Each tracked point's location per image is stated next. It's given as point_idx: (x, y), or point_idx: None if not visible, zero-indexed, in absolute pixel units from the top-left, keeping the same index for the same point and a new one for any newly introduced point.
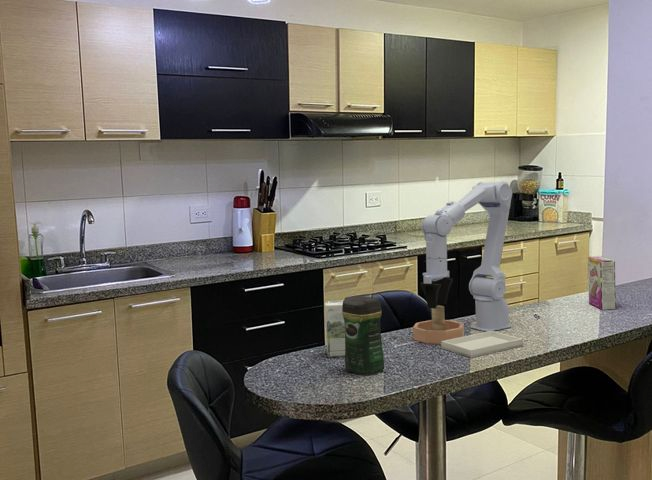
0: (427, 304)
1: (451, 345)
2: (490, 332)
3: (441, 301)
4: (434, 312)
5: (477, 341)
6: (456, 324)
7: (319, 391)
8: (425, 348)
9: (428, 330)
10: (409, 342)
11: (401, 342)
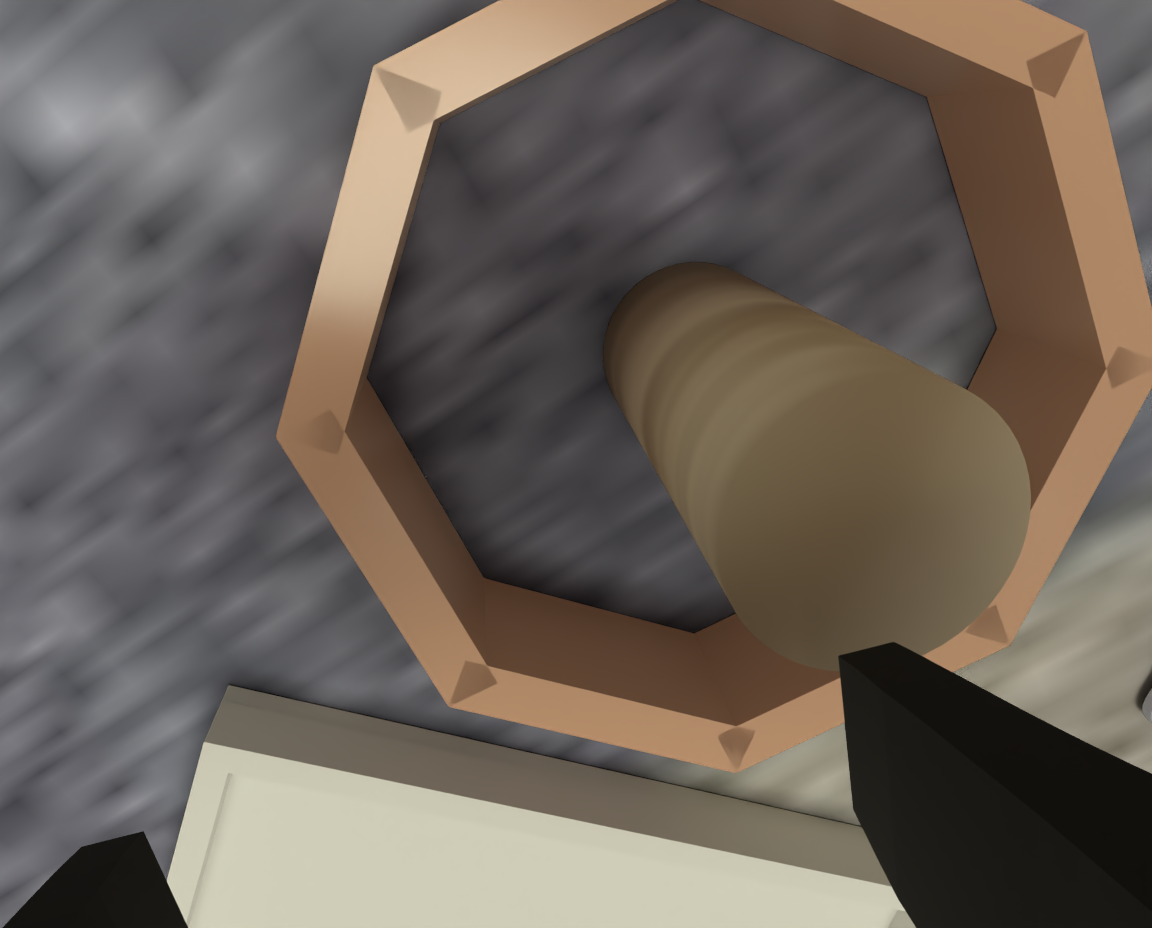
0: (5, 926)
1: None
2: None
3: (872, 771)
4: (689, 494)
5: (645, 880)
6: None
7: None
8: (98, 526)
9: (346, 459)
10: (206, 135)
11: (120, 11)
